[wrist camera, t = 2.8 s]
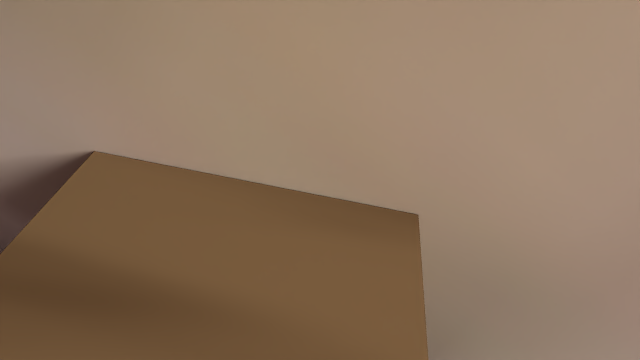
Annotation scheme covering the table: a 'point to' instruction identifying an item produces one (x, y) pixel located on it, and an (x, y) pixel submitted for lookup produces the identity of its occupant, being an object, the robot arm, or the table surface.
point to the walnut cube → (208, 272)
